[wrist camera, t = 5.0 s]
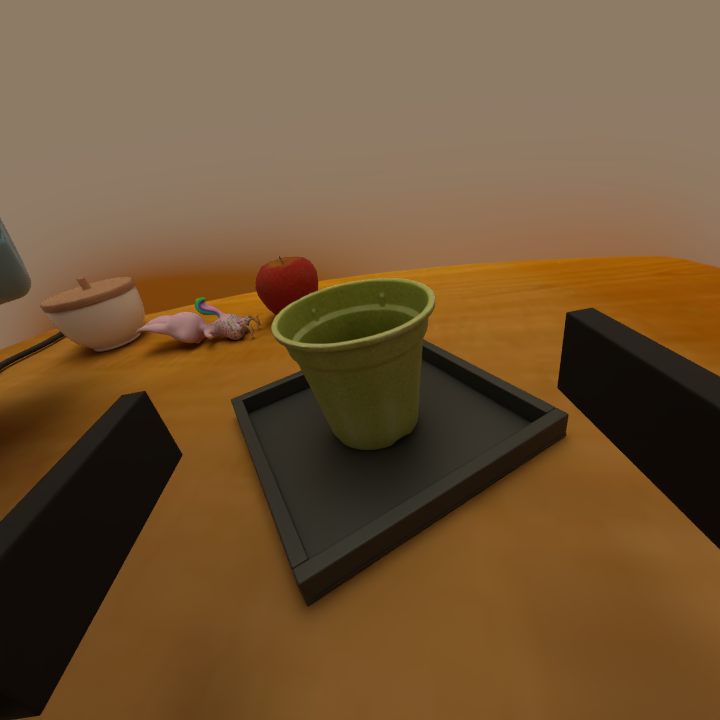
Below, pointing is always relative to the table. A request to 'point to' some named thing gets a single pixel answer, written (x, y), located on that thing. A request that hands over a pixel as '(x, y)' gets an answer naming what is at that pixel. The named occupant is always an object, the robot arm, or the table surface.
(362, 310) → the plant pot
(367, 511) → the drip tray
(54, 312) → the trinket box
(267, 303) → the apple
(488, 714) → the table surface
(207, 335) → the pink toy figurine
